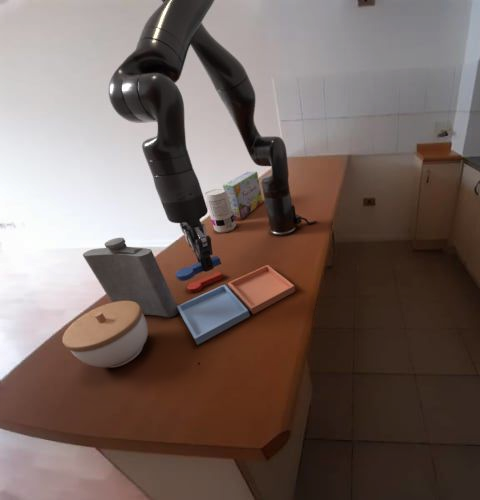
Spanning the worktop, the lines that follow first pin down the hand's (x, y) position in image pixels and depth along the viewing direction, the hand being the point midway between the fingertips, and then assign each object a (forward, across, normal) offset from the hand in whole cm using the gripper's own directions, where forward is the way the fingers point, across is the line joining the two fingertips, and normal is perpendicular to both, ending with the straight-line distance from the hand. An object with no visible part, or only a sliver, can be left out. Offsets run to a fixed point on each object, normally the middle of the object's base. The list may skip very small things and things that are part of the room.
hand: (207, 267), depth 63 cm
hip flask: (+12, +12, +14) cm, 22 cm away
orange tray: (+12, -1, -11) cm, 16 cm away
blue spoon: (0, 0, +2) cm, 2 cm away
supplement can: (+12, +45, -19) cm, 51 cm away
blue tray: (+12, -1, +2) cm, 12 cm away
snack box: (+12, +56, -34) cm, 67 cm away
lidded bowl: (+12, +1, +21) cm, 24 cm away
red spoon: (+12, +13, -1) cm, 18 cm away
